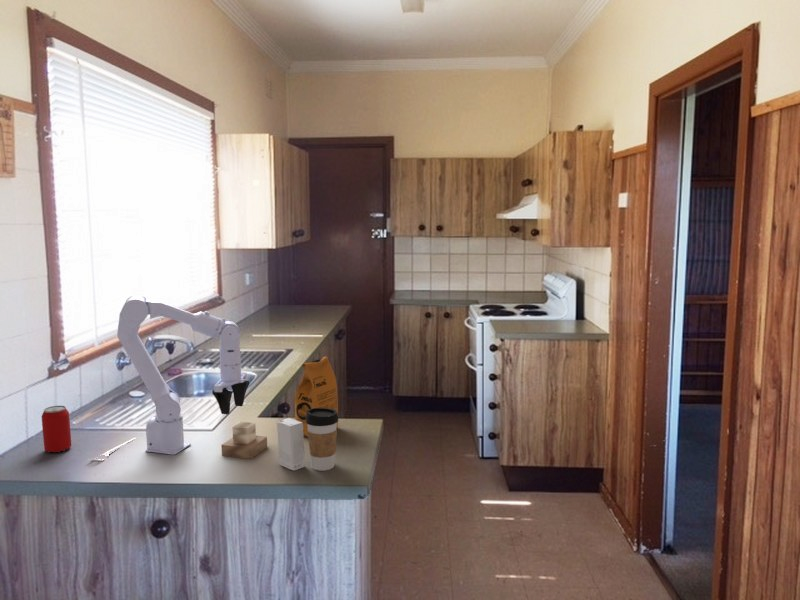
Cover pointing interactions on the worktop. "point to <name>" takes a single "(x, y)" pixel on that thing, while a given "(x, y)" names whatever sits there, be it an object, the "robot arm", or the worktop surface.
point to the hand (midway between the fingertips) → (232, 409)
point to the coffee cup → (322, 437)
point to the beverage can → (56, 429)
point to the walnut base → (244, 448)
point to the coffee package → (316, 390)
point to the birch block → (244, 433)
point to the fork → (112, 450)
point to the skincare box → (291, 444)
